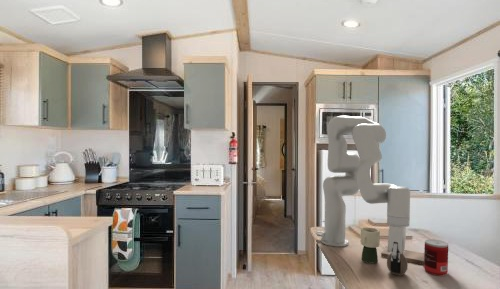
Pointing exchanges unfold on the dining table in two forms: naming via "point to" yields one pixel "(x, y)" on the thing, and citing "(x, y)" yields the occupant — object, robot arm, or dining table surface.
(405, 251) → the walnut board
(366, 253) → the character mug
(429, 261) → the canned food
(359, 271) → the dining table surface
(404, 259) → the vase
